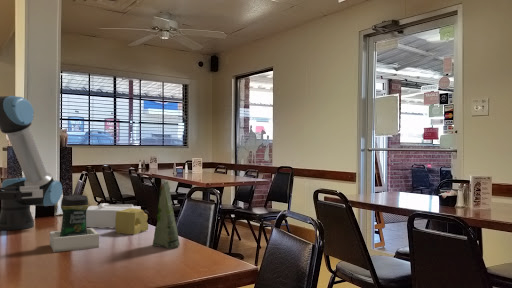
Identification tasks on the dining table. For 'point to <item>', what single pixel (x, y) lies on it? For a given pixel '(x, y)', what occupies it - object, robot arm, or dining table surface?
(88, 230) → the tray
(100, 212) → the tissue box
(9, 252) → the dining table surface
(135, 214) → the cheese
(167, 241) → the pouch
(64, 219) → the coffee jar
